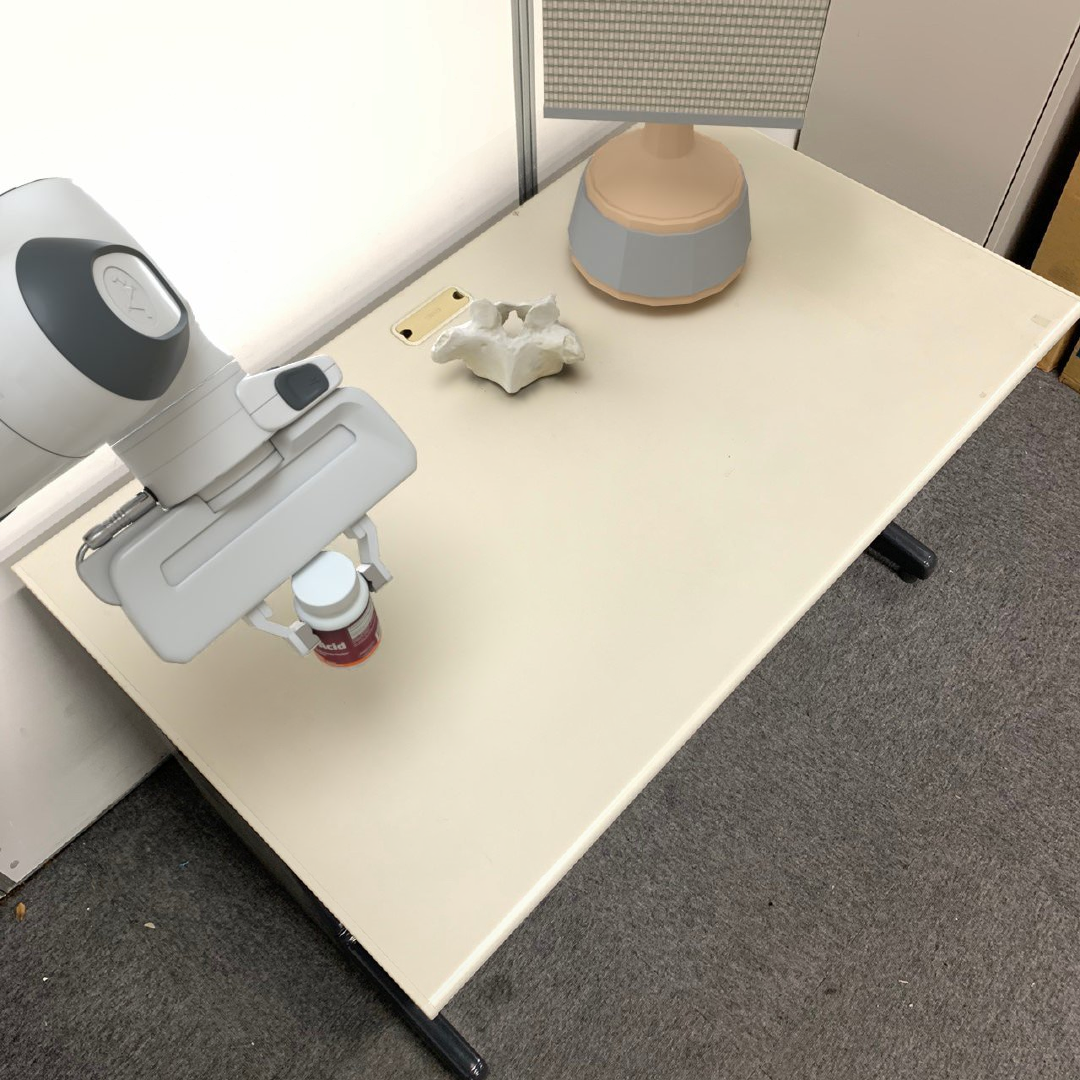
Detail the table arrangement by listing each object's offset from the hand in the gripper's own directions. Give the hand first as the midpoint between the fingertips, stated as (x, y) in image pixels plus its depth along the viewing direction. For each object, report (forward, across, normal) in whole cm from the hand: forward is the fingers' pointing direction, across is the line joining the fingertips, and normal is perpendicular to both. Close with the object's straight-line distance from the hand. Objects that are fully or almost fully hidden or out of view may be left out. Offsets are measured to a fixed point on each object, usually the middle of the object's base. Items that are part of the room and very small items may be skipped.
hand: (347, 616), depth 64 cm
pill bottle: (+3, 0, +4) cm, 5 cm away
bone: (0, +34, +24) cm, 42 cm away
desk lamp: (0, +55, +24) cm, 60 cm away
